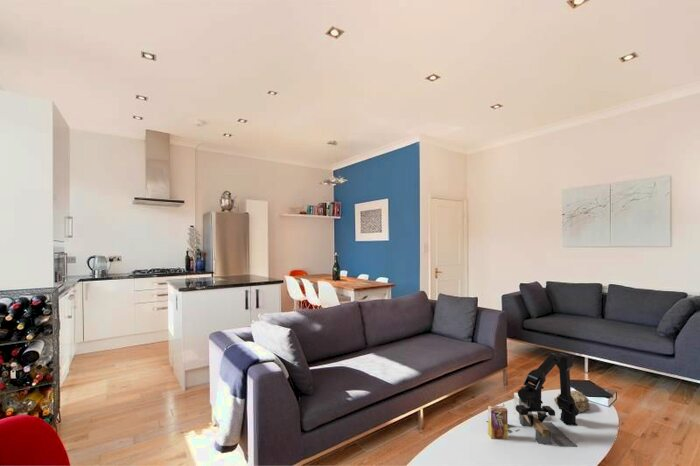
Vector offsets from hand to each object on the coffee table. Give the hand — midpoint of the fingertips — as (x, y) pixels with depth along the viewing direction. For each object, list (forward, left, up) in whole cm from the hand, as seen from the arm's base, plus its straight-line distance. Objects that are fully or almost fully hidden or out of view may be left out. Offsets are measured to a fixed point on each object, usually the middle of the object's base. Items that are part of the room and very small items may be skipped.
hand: (535, 426), depth 178 cm
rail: (0, 0, 0) cm, 0 cm away
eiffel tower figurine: (+14, -7, -5) cm, 17 cm away
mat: (-11, 0, -4) cm, 12 cm away
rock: (-41, -31, -4) cm, 51 cm away
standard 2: (0, +8, -4) cm, 9 cm away
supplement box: (-2, -17, -4) cm, 18 cm away
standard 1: (0, -8, -4) cm, 9 cm away
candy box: (+22, +4, -4) cm, 23 cm away
